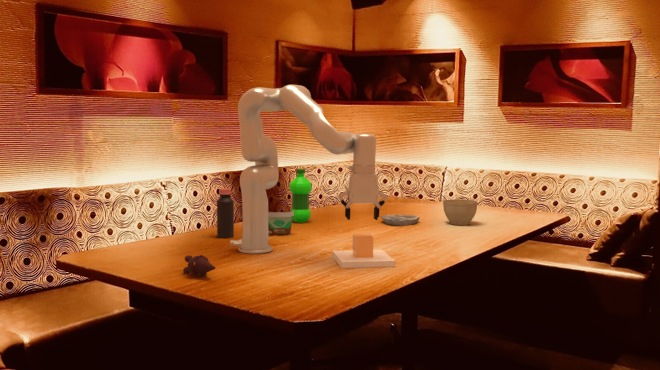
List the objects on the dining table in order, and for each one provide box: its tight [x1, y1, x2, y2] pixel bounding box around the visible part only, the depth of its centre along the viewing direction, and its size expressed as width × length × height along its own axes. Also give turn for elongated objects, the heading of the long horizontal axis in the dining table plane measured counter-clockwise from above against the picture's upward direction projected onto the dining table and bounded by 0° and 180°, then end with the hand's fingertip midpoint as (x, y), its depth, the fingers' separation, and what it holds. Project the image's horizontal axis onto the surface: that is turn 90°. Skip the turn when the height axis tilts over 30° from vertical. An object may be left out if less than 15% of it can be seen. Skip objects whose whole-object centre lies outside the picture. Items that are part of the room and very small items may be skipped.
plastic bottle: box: [289, 168, 313, 224], centre depth 301 cm, size 10×10×25 cm
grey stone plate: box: [379, 214, 421, 227], centre depth 303 cm, size 20×17×3 cm
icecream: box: [182, 254, 216, 278], centre depth 199 cm, size 7×7×15 cm
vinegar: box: [216, 187, 235, 239], centre depth 262 cm, size 7×7×20 cm
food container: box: [268, 210, 294, 237], centre depth 269 cm, size 12×6×10 cm, turn 105°
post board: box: [332, 249, 396, 269], centre depth 222 cm, size 18×18×6 cm
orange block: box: [352, 233, 374, 258], centre depth 221 cm, size 6×6×7 cm
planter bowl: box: [442, 198, 479, 226], centre depth 301 cm, size 16×16×11 cm
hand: (361, 219), depth 221 cm, fingers open, 9 cm apart
